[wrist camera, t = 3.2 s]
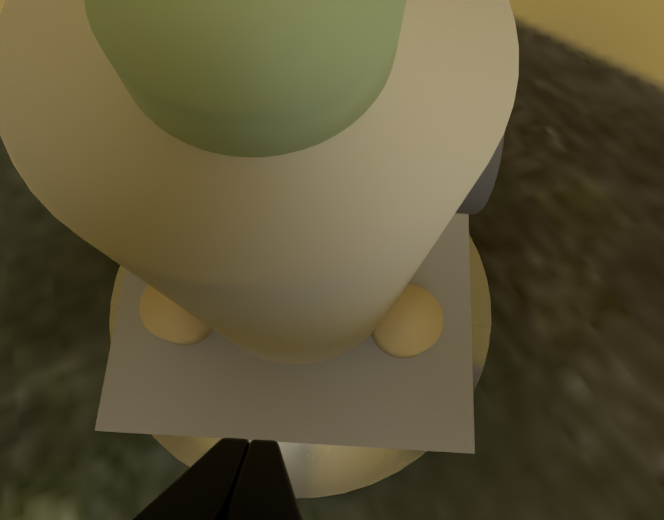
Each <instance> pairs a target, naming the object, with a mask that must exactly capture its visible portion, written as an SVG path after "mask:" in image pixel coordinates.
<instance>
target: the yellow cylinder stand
mask: <svg viewBox="0 0 664 520" xmlns="http://www.w3.org/2000/svg"><path fill="white" fill-rule="evenodd" d="M518 75H519V45H518V38H517V32H516V25H515V19H514V16H513V12H512V9H511V6H510V3H509V0H6V1H5V4H4V6H3V9H2V11H1V14H0V136H1V138H2V141H3V143H4V145H5V147H6V150H7V152H8V154H9V156H10V159H11V161H12V163H13V165H14V166H15V168H16V169H17V171H18V172H19V174H20V175H21V177H22V178H23V180H24V181H25V183H26V185H27V186H28V188H29V189H30V191H31V192H32V193H33V194H34V195H35V196H36V197H37V198H38V199H39V200H40V202H41V203H42V204H43V205H44V206H45V207H46V208H47V209H48V210H49V211H50V212H51V214H52V215H53V216H54V217H56V218H57V219H58V220H59V221H61V222H62V223H63V224H64V225H66V226H67V227H68V228H69V229H71V230H72V231H73V232H74V233H76V234H77V235H78V236H79V237H81V238H82V239H83V240H85V241H86V242H88V243H89V244H91V245H92V246H93V247H95V248H96V249H98V250H99V251H101V252H102V253H104V254H105V255H106V256H108V257H109V258H111V259H112V260H114V261H115V262H116V263H118V264H119V265H121V266H122V267H124V268H125V272H124V278H123V283H122V288H121V294H120V299H119V304H118V309H117V315H116V320H115V325H114V331H113V336H112V341H111V347H110V352H109V357H108V362H107V368H106V373H105V378H104V384H103V389H102V394H101V400H100V405H99V410H98V416H97V421H96V426H95V431H107V432H123V433H140V434H157V435H173V436H190V437H206V438H243V439H247V440H254V439H260V440H274V441H276V442H290V443H306V444H323V445H339V446H356V447H373V448H389V449H406V450H423V451H439V452H456V453H473V454H475V441H474V403H473V366H472V328H471V291H470V253H469V216H468V214H478V213H479V212H480V211H481V210H482V209H483V208H484V206H485V205H486V203H487V201H488V199H489V197H490V195H491V193H492V190H493V187H494V184H495V181H496V177H497V174H498V170H499V165H500V161H501V155H502V149H503V143H504V134H505V129H506V126H507V123H508V120H509V117H510V114H511V111H512V108H513V105H514V99H515V94H516V88H517V82H518Z"/></svg>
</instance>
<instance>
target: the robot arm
mask: <svg viewBox="0 0 664 520" xmlns="http://www.w3.org/2000/svg"><path fill="white" fill-rule="evenodd" d="M133 520H303V519H302V515H301V512H300V509H299V506H298V503H297V500H296V497H295V494H294V490H293V487H292V484H291V481H290V478H289V475H288V472H287V469H286V466H285V462H284V459H283V456H282V453H281V450H280V447H279V444H278V443H277V442H276V441H274V440H260V439H254V440H252V441H251V442H250V443H249V441H248V440H247V439H243V438H222V439H220V440H219V441H218V442H217V443H216V444H215V445H214V446H213V447H212V448H210V449H209V450H208V451H207V452H206V453H205V454H204V455H203V456H202V457H201V458H200V459H198V460H197V461H196V462H195V463H194V464H193V465H192V466H191V467H190V468H189V469H187V470H186V471H185V472H184V473H183V474H182V475H181V476H180V477H179V478H178V479H177V480H175V481H174V482H173V483H172V484H171V485H170V486H169V487H168V488H167V489H166V490H165V491H163V492H162V493H161V494H160V495H159V496H158V497H157V498H156V499H155V500H154V501H152V502H151V503H150V504H149V505H148V506H147V507H146V508H145V509H144V510H143V511H142V512H140V513H139V514H138V515H137V516H136V517H135V518H134V519H133Z"/></svg>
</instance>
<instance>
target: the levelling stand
mask: <svg viewBox="0 0 664 520" xmlns="http://www.w3.org/2000/svg"><path fill="white" fill-rule="evenodd" d="M469 253H470V291H471V328H472V366H473V392H474V390H475V388H476V385H477V383H478V381H479V378H480V376H481V373H482V371H483V367H484V363H485V360H486V356H487V352H488V348H489V340H490V331H491V300H490V294H489V288H488V282H487V277H486V274H485V271H484V268H483V264H482V261H481V258H480V255H479V253H478V251H477V249H476V247H475V245H474V243H473V241H472V238H471V236H470V235H469ZM124 272H125V268H124V267H122V266H121V265H120V267H119V270H118V273H117V276H116V279H115V284H114V288H113V293H112V298H111V306H110V322H109V328H110V340H111V341H112V336H113V331H114V325H115V320H116V315H117V309H118V304H119V299H120V294H121V288H122V283H123V278H124ZM152 435H153V437H154V438H155V439H156V440H157V441H158V442H159V443H160V444H161V445H162V446H163V447H164V448H166V449H167V450H168V451H169V452H170V453H171V454H172V455H173V456H174V457H176V458H177V459H178V460H180V461H181V462H183V463H184V464H186V465H187V466H189V467H191V466H192V465H193V464H194V463H195V462H196V461H197V460H198V459H200V458H201V457H202V456H203V455H204V454H205V453H206V452H207V451H208V450H209V449H210V448H212V447H213V446H214V445H215V444H216V443H217V442H218V441H219V440H220V439H222V438H206V437H190V436H173V435H157V434H152ZM248 441H249V443H250V442H251V441H252V440H248ZM277 443H278V444H279V447H280V450H281V453H282V456H283V459H284V462H285V466H286V469H287V472H288V475H289V478H290V481H291V484H292V487H293V490H294V494H295V497H296V499H299V498H319V497H326V496H332V495H338V494H343V493H347V492H350V491H353V490H356V489H360V488H363V487H366V486H369V485H372V484H374V483H376V482H378V481H380V480H382V479H384V478H386V477H388V476H390V475H392V474H395V473H397V472H398V471H400V470H401V469H403V468H404V467H406V466H407V465H409V464H410V463H412V462H413V461H415V460H416V459H418V458H419V457H421V456H422V455H423V454H424V453H425V452H427V451H423V450H406V449H389V448H373V447H356V446H339V445H323V444H306V443H290V442H277Z"/></svg>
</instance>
